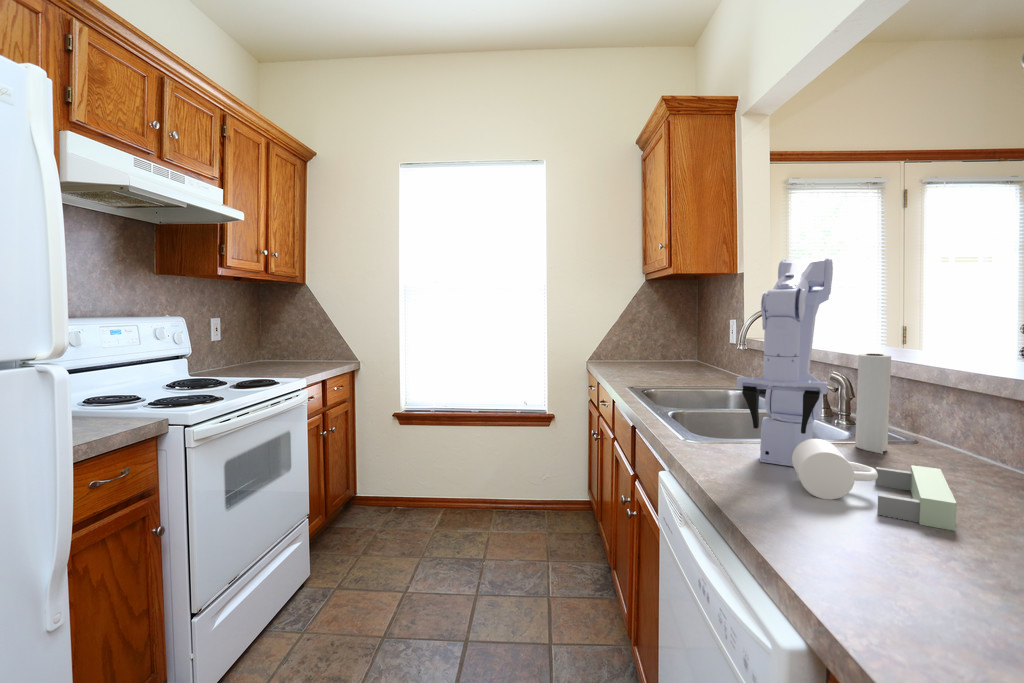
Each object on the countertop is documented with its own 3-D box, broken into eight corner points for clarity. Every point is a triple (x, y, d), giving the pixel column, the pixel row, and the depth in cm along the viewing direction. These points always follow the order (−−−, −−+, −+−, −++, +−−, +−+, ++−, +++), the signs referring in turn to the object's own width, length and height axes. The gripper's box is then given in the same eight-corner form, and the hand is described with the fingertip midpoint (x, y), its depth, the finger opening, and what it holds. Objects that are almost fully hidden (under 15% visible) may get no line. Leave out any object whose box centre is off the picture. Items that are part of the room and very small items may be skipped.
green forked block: (877, 516, 78) (878, 491, 78) (875, 482, 94) (876, 460, 94) (955, 530, 73) (956, 503, 73) (939, 491, 89) (940, 468, 89)
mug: (798, 496, 87) (800, 450, 87) (791, 478, 96) (792, 436, 96) (883, 506, 83) (885, 457, 82) (867, 486, 92) (868, 442, 91)
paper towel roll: (859, 443, 121) (862, 352, 119) (890, 448, 116) (894, 354, 115) (850, 449, 116) (853, 354, 115) (882, 455, 111) (886, 356, 110)
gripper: (734, 355, 94) (733, 429, 95) (828, 359, 86) (825, 439, 87) (740, 352, 100) (738, 422, 101) (828, 356, 92) (825, 431, 93)
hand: (779, 429), depth 94 cm, fingers open, 7 cm apart
